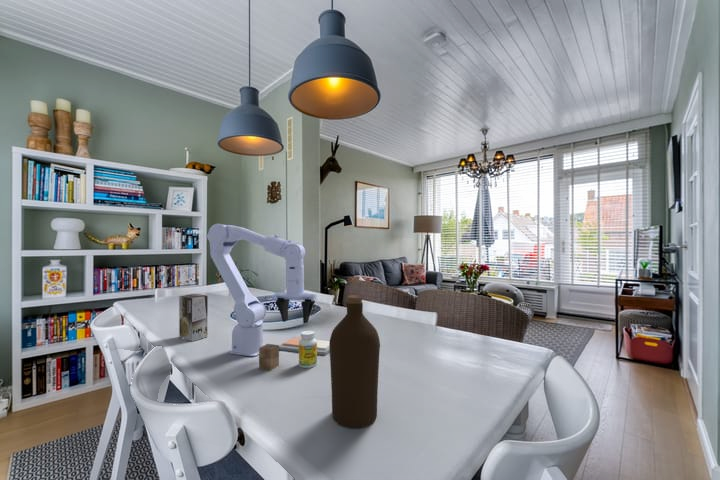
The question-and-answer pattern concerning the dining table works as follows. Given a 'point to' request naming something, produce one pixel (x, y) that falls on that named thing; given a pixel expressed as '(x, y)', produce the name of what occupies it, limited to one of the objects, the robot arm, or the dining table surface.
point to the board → (294, 346)
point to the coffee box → (193, 316)
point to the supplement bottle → (307, 350)
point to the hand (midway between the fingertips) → (295, 321)
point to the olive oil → (354, 368)
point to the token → (268, 357)
